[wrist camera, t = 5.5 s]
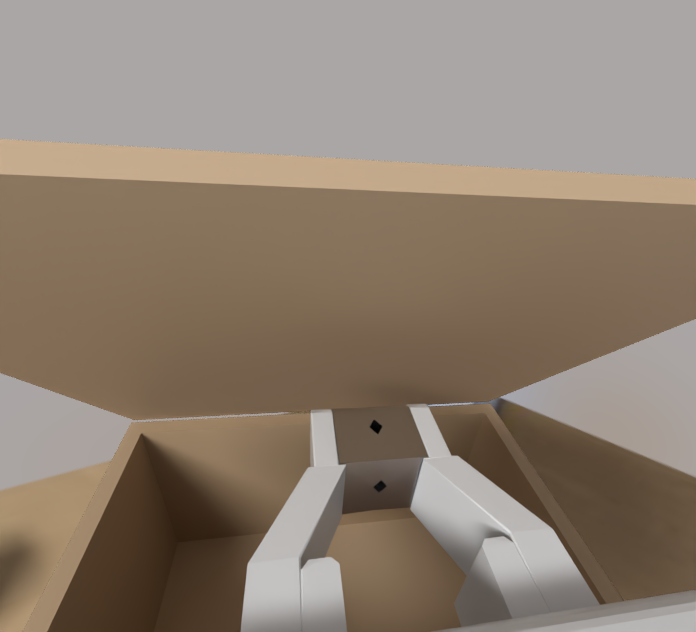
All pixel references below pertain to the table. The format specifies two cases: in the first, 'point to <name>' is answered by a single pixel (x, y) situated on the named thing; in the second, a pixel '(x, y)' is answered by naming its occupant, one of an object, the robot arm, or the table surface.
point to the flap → (323, 277)
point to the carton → (255, 521)
